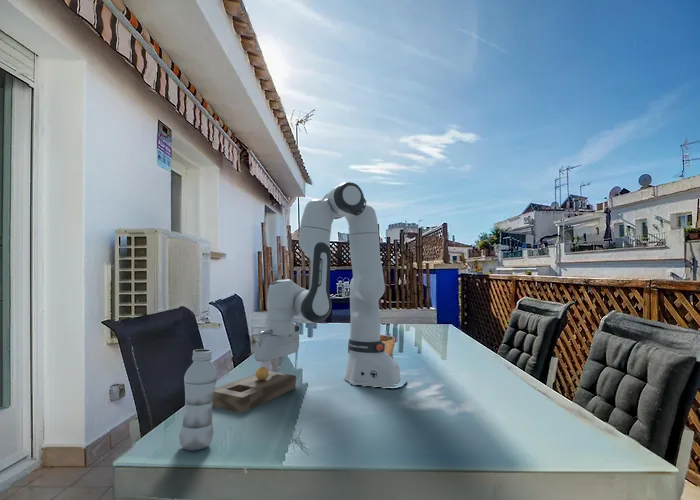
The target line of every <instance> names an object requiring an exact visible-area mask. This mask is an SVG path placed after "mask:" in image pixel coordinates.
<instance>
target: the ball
mask: <svg viewBox="0 0 700 500" xmlns="http://www.w3.org/2000/svg"><path fill="white" fill-rule="evenodd" d="M255 374H256V377H257V379H259V380H265V379H266V378H267V377H268V375H269V371H268V369H267V368H266V367H258V368H257V369H256V371H255Z"/></svg>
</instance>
